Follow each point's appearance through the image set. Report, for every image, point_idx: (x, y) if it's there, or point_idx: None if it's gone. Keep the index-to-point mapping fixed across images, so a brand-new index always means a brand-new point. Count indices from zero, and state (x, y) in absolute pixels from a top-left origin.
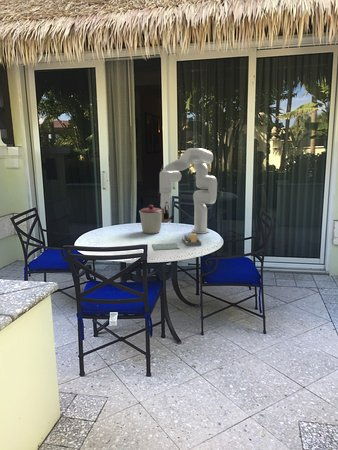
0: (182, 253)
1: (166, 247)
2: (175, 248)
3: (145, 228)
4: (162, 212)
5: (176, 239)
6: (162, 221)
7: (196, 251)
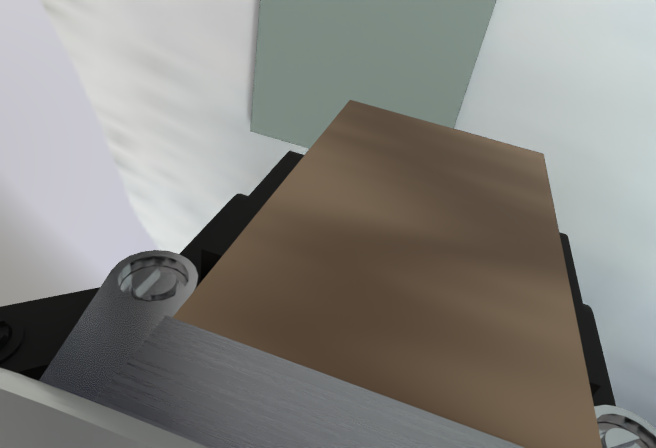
0: (121, 88)
1: (308, 9)
2: (253, 91)
3: None
4: (239, 245)
5: (610, 271)
6: (358, 105)
7: (159, 213)
